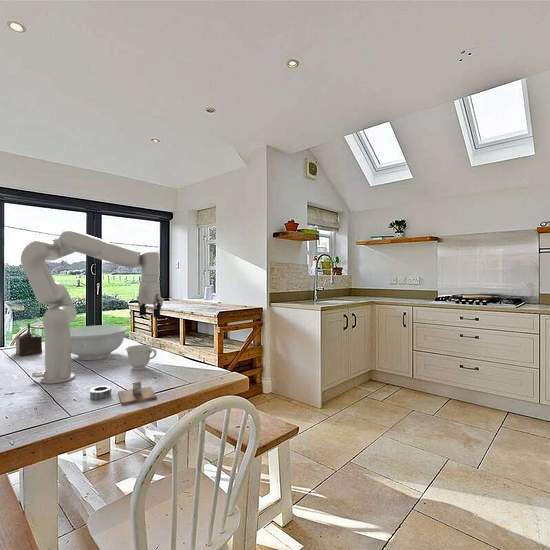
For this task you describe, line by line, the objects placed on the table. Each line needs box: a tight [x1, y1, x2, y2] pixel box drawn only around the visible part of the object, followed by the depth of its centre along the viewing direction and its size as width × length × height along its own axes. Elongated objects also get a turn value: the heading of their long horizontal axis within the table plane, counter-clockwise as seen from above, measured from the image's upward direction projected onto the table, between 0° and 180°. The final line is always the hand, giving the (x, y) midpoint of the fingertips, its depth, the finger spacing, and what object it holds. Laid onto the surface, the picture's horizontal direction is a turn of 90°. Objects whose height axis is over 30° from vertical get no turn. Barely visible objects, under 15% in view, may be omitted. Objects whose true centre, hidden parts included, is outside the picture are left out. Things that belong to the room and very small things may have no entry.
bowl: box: [70, 324, 128, 361], centre depth 186 cm, size 32×32×15 cm
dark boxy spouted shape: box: [15, 323, 44, 358], centre depth 193 cm, size 16×11×18 cm
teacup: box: [125, 344, 157, 371], centre depth 166 cm, size 12×15×10 cm
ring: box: [89, 385, 112, 401], centre depth 130 cm, size 7×7×3 cm
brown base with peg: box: [117, 380, 157, 406], centre depth 131 cm, size 12×12×6 cm
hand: (149, 316), depth 158 cm, fingers open, 9 cm apart
